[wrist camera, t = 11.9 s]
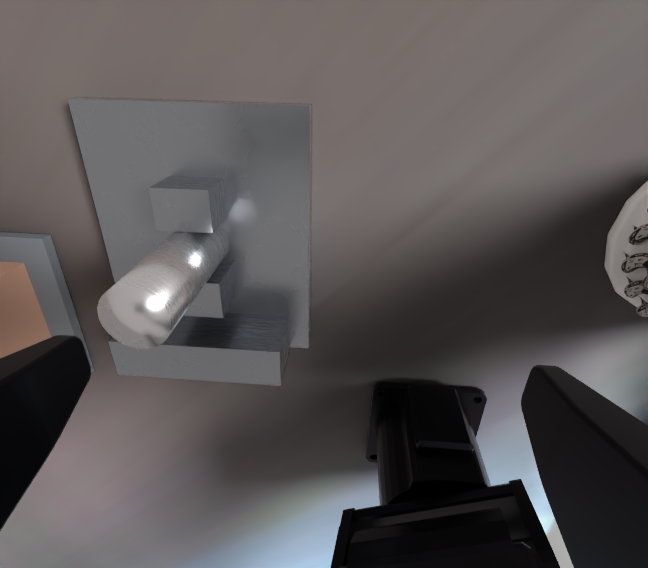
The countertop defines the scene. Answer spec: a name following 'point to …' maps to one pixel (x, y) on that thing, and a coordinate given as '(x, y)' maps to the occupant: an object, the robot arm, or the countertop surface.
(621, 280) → the decorative candle
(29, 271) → the mat
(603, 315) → the countertop surface
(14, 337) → the collar
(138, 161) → the grey plate with rod
